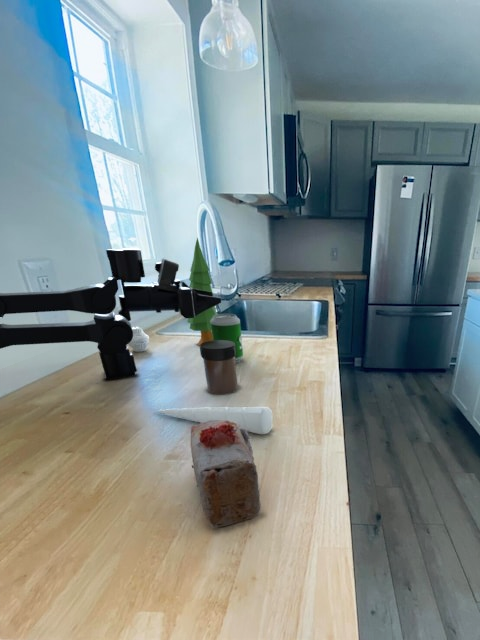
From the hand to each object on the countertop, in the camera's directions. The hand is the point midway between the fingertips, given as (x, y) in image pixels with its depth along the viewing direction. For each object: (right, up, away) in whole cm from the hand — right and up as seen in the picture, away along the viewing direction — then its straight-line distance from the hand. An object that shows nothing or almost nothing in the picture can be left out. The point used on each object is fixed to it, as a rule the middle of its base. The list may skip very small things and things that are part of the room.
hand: (216, 297), depth 92 cm
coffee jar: (+4, -24, -9) cm, 26 cm away
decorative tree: (-10, -6, +24) cm, 27 cm away
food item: (+14, -42, -42) cm, 62 cm away
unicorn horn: (+7, -33, -25) cm, 42 cm away
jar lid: (+4, -16, -14) cm, 22 cm away
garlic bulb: (-27, -10, +16) cm, 33 cm away
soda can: (+1, -14, +9) cm, 17 cm away
